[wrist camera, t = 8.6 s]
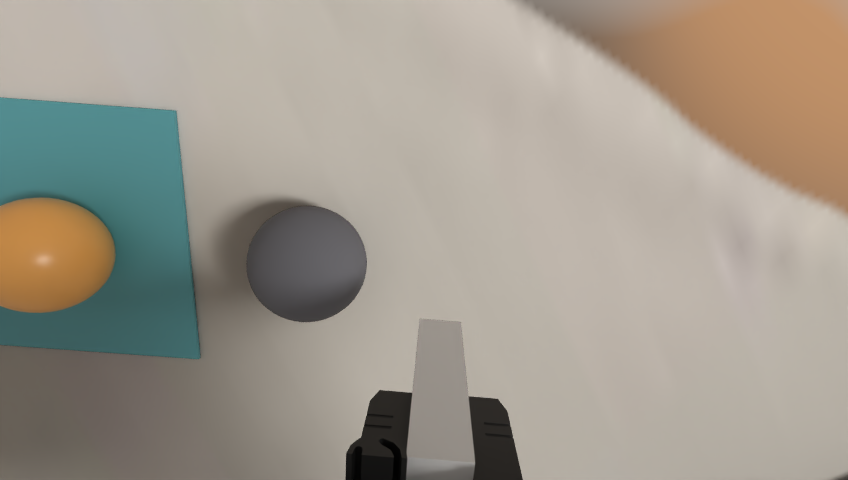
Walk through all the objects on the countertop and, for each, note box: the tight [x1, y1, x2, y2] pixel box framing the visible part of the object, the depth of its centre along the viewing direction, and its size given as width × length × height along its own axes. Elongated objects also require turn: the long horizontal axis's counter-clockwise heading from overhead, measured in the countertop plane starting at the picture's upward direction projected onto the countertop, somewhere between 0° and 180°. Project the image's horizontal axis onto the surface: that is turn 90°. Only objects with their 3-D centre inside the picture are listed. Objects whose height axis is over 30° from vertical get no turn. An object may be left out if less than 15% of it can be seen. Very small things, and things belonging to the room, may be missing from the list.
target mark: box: [0, 98, 200, 359], centre depth 23 cm, size 14×14×1 cm
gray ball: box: [247, 206, 367, 322], centre depth 21 cm, size 6×6×6 cm
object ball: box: [0, 198, 116, 313], centre depth 21 cm, size 6×6×6 cm
